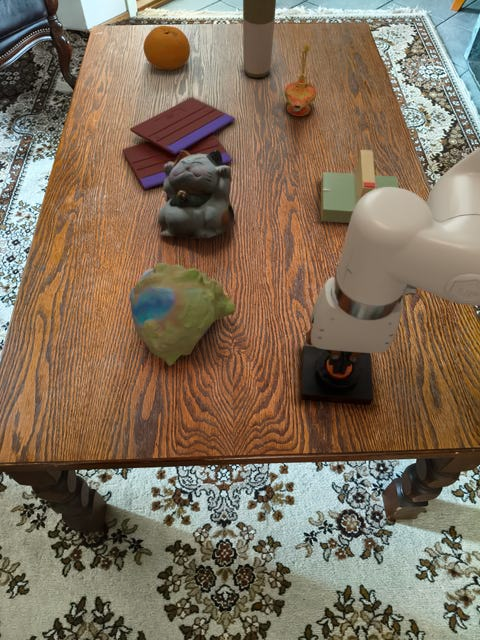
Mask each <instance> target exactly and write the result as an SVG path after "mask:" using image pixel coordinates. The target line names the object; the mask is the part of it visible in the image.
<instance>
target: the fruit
mask: <svg viewBox="0 0 480 640" xmlns="http://www.w3.org/2000/svg"><path fill="white" fill-rule="evenodd" d="M143 53H144V56H145V58H146V61H148V63H149V64H150V65H151V66H152V67H154V68H155V69H159V70H163V71H173V70H177V69H179V68H182V67H183V66H184V65H185V64H187V62H188V60H189V59H190V56H191V45H190V41H189V39H188V37H187V35H186V34H185V33H184V32H183V30H181V29H179V27H176V26H170V25H159V26H156V27H154V28H153V29H152V30H151V31H150V32H149V33H148V34H147V36H145V39H144V42H143Z"/></svg>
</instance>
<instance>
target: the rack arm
mask: <svg viewBox="0 0 480 640" xmlns="http://www.w3.org/2000/svg"><path fill="white" fill-rule="evenodd" d="M374 160H375V159H374V151H373V150H372V149H370V150H369V149H360V150H359V154H358V158H357V161H356V166H355V169H354V174H355V191H356V204H357V202H358V201H359V200H360V198H361V197H363V196H364V195H365V194H366V193H368V192H370V191H372V190H374V189H376V184H375V175H376V174H375V161H374Z"/></svg>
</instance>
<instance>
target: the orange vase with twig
mask: <svg viewBox="0 0 480 640" xmlns="http://www.w3.org/2000/svg"><path fill="white" fill-rule="evenodd" d="M309 51H310V45H309V43H308V42H306V43H305V44H304V45H303V51H302V52H301V74H300V76H298V80H296V81H293V82H291V83H289V84H288V85H286V87H285V88H284V92H283V93H284V98H285V99H286V101H287V102H288V104H287V107H286V110H287V112H288V113H289V114H291V115H292V116H296V117H302V116H306V115H308V114H309V113H310V111H311V107H310V104H312V103H313V102H314V101H315V99H316V97H317V89H316V88H315V86H314V85H313V84H311V83H309V82H308V81H307V80H306V79H307V76H305V71H306V64H307V55H308V53H309Z"/></svg>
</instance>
